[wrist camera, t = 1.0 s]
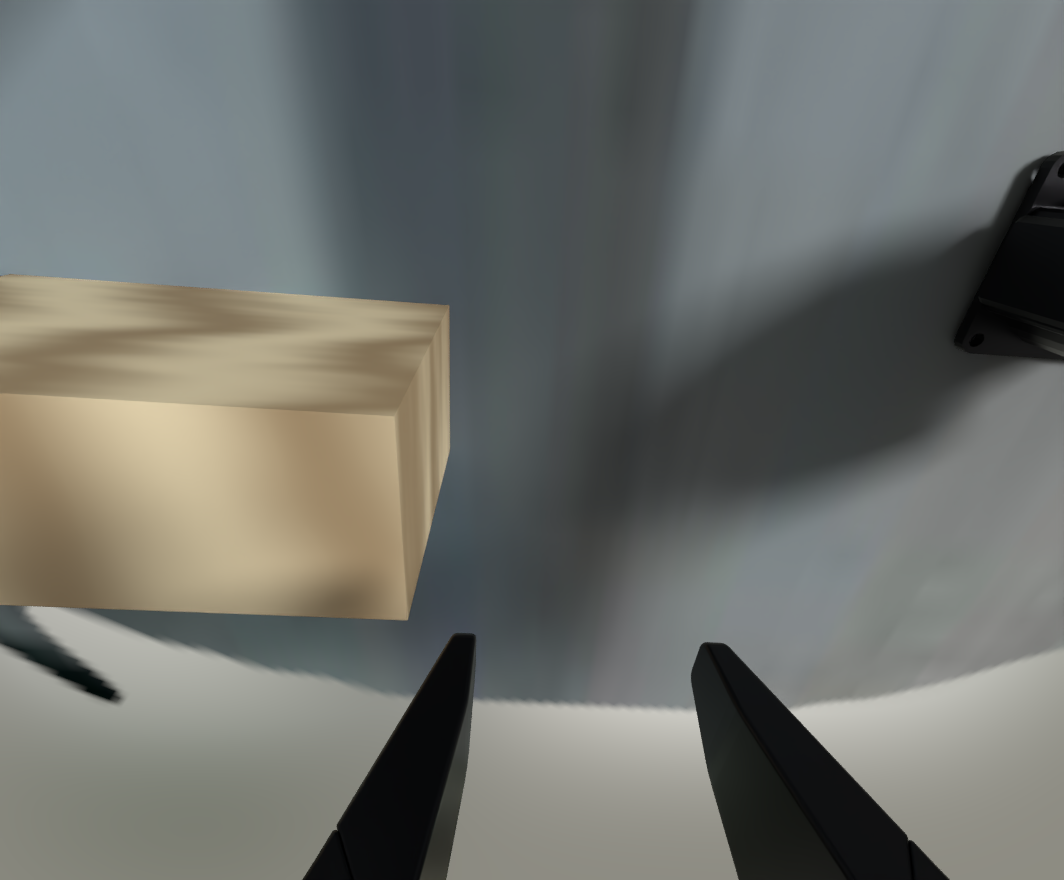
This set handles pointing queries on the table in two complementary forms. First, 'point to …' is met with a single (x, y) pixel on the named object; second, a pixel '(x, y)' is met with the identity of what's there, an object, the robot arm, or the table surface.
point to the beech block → (217, 448)
